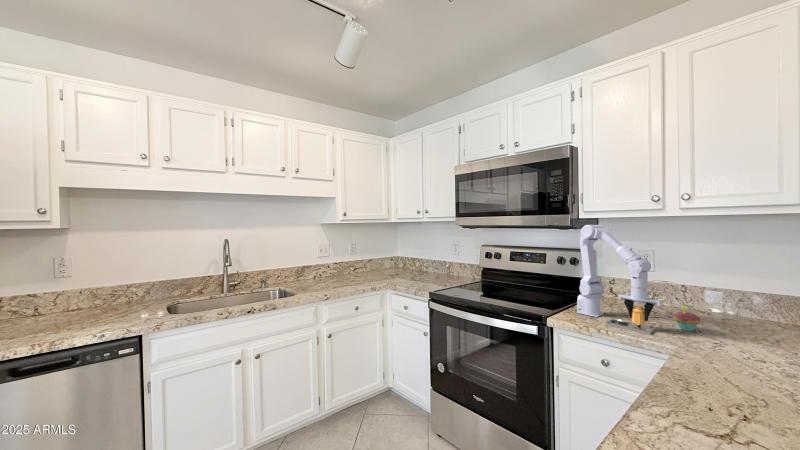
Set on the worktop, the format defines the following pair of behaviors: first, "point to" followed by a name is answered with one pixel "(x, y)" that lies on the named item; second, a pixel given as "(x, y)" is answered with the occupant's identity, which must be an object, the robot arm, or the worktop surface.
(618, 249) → the robot arm
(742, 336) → the worktop surface
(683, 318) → the cupcake
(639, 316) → the acorn cap nut
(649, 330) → the plate
